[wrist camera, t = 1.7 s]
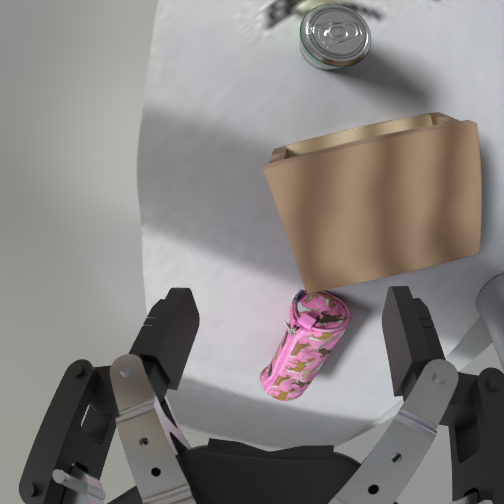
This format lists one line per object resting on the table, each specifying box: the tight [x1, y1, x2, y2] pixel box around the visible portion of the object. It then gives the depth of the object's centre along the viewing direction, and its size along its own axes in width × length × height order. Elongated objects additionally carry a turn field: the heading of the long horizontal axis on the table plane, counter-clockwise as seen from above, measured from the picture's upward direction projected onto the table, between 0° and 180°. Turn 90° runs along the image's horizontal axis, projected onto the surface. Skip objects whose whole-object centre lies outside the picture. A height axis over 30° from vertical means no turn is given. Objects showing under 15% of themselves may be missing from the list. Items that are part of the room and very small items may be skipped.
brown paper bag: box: [263, 112, 482, 293], centre depth 28 cm, size 20×14×9 cm
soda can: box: [300, 4, 371, 70], centre depth 20 cm, size 5×5×12 cm
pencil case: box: [260, 290, 351, 401], centre depth 44 cm, size 21×9×9 cm, turn 170°
